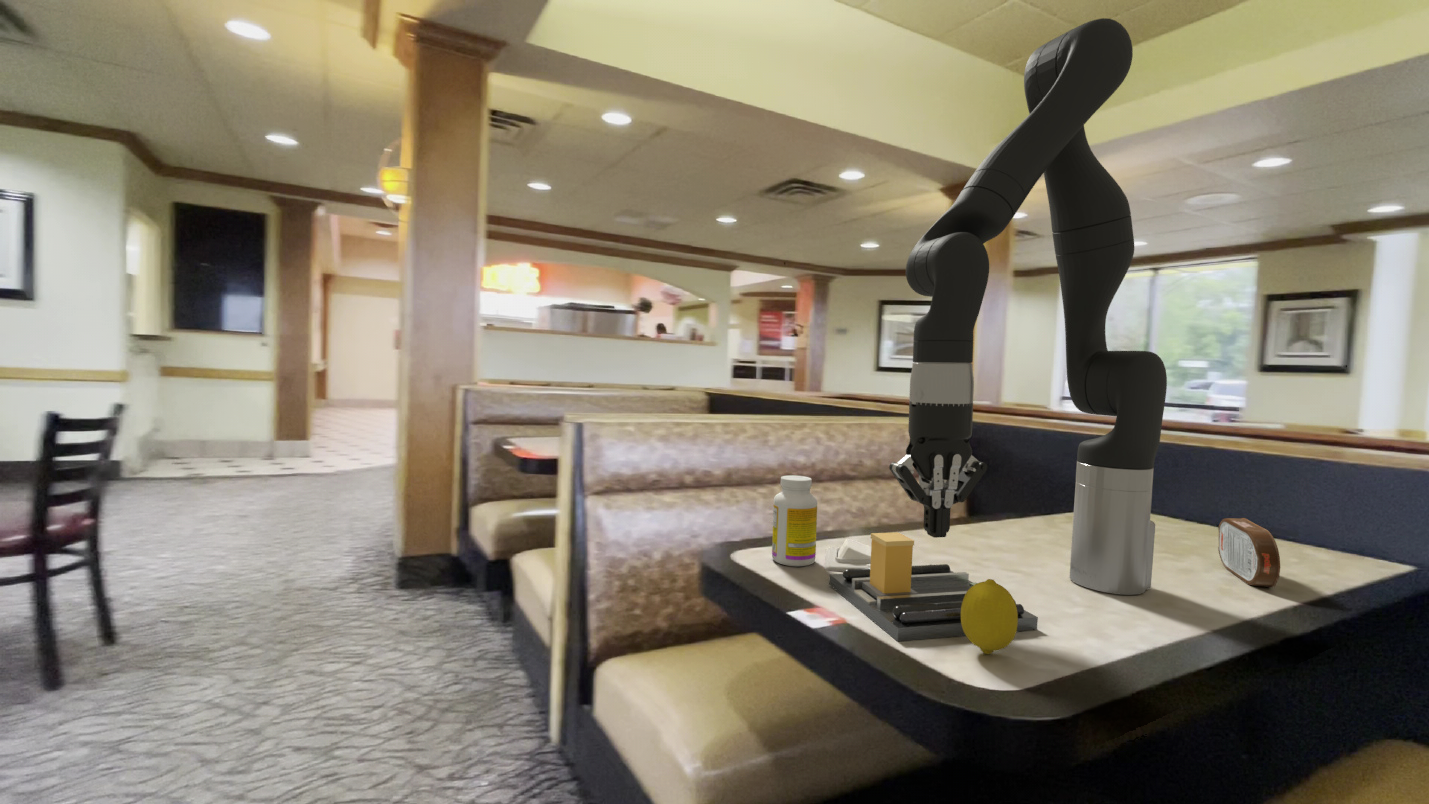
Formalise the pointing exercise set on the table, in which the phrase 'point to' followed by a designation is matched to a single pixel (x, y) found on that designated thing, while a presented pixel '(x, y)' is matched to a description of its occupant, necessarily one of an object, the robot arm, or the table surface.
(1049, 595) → the table surface
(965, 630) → the lemon
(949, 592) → the panel
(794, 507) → the supplement bottle
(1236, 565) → the tin
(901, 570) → the lever
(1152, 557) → the robot arm
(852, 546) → the light switch
